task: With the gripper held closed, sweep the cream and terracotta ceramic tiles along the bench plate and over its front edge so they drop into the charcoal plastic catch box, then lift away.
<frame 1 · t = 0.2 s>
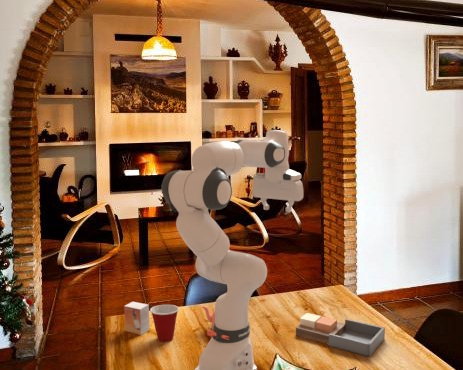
hand: (277, 210, 185), 47 cm above the table, tool pointing down, fingers open, 8 cm apart
tile rear: (310, 323, 190), point 3 cm above the table, touching bench plate
bench plate: (320, 333, 188), on the table
plastic cup: (165, 338, 187), on the table
pink branching coral: (223, 330, 194), on the table
catch box: (356, 342, 180), on the table
small box: (137, 331, 194), on the table
tile front: (326, 327, 187), point 3 cm above the table, touching bench plate
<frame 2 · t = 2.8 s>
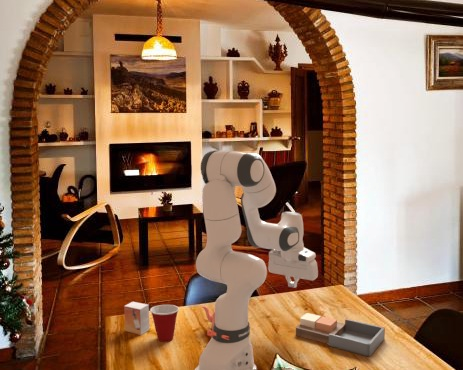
hand: (292, 286, 193), 16 cm above the table, tool pointing down, fingers closed
nothing on the table moved.
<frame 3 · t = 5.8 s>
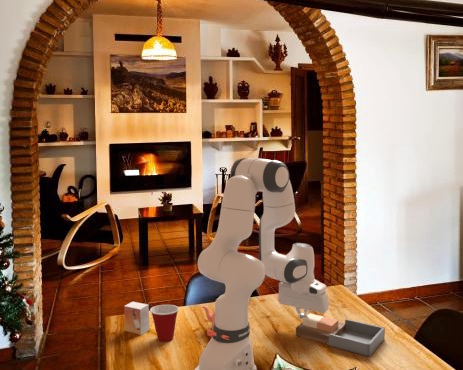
hand: (302, 318, 192), 4 cm above the table, tool pointing down, fingers closed
tile rear: (313, 323, 190), point 3 cm above the table, touching gripper, tile front
tile front: (327, 327, 187), point 3 cm above the table, touching tile rear
everything else where it was.
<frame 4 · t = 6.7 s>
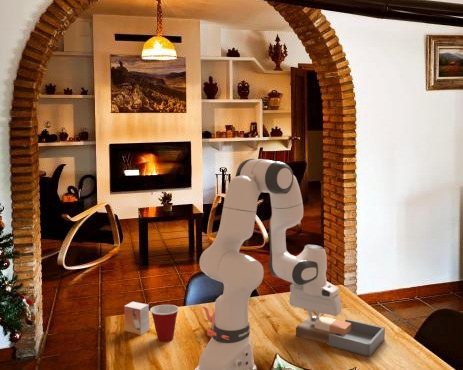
hand: (314, 321, 190), 4 cm above the table, tool pointing down, fingers closed
tile rear: (325, 326, 187), point 3 cm above the table, touching gripper, tile front
tile front: (340, 330, 184), point 3 cm above the table, touching bench plate, tile rear
everything else where it was.
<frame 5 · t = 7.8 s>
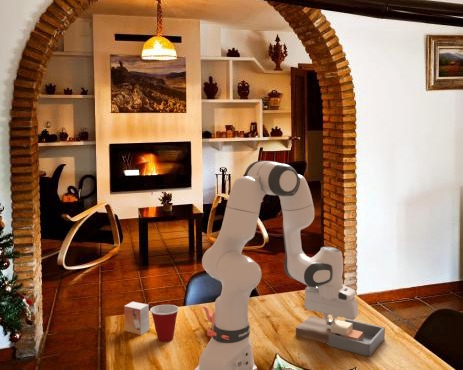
hand: (330, 325, 186), 4 cm above the table, tool pointing down, fingers closed
tile rear: (341, 330, 184), point 3 cm above the table, touching gripper
tile front: (352, 339, 182), resting on catch box
everything else where it was.
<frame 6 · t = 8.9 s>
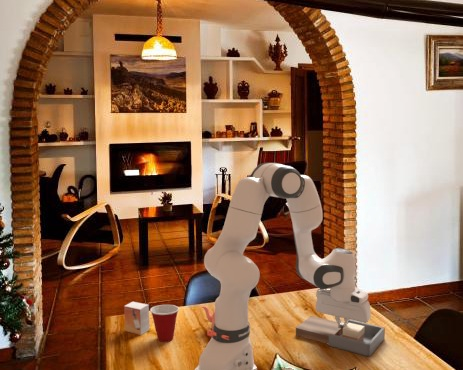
hand: (342, 328, 183), 4 cm above the table, tool pointing down, fingers closed
tile rear: (353, 333, 181), point 3 cm above the table, touching gripper, tile front
tile front: (352, 339, 182), resting on catch box, touching tile rear
everything else where it was.
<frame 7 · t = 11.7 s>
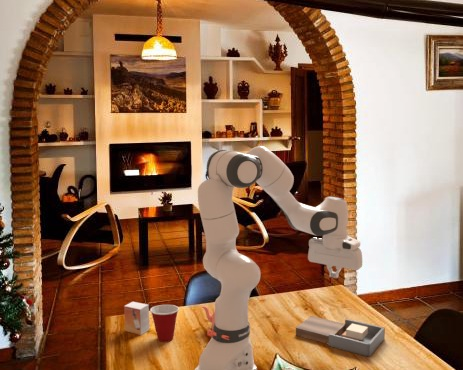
hand: (334, 277, 183), 23 cm above the table, tool pointing down, fingers closed
tile rear: (356, 334, 180), point 3 cm above the table, touching tile front
everything else where it was.
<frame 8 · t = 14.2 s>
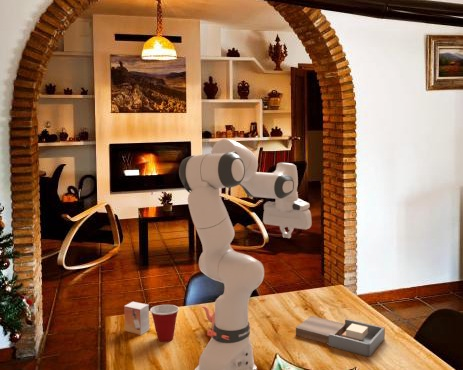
hand: (286, 237, 197), 34 cm above the table, tool pointing down, fingers closed
nothing on the table moved.
at the end: tile front inside the target area on the catch box (1.6 cm from its centre), point 0.5 cm above the catch box's base; tile rear inside the target area on the catch box (0.1 cm from its centre), point 3.0 cm above the catch box's base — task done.
